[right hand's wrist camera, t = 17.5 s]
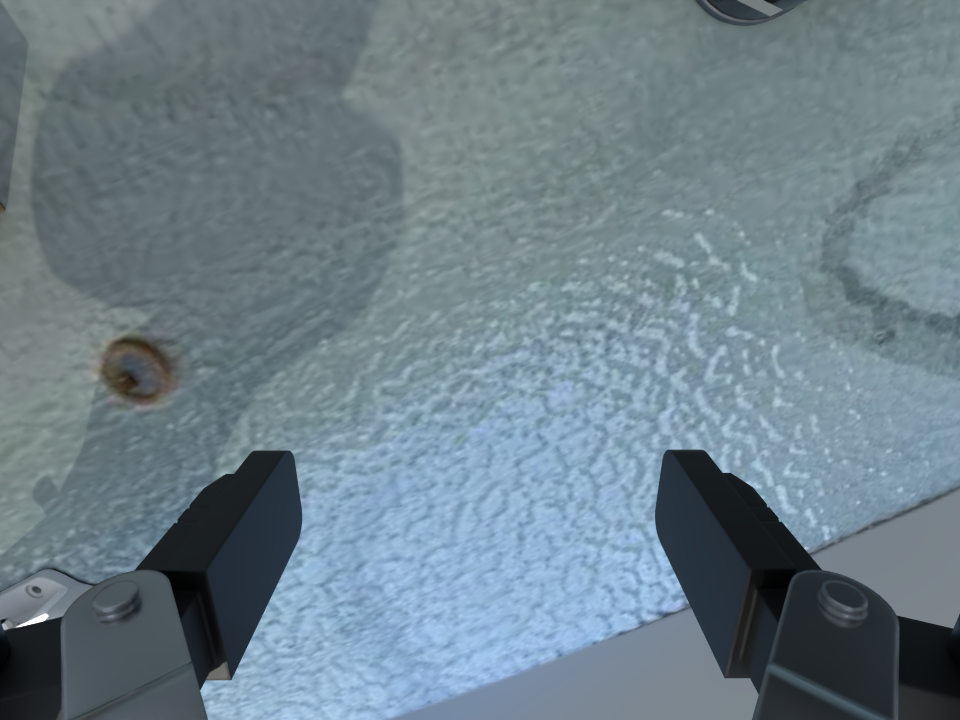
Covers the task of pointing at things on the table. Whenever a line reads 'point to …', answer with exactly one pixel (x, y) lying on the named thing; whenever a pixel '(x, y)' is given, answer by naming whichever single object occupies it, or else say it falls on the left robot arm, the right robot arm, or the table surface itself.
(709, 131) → the table surface
